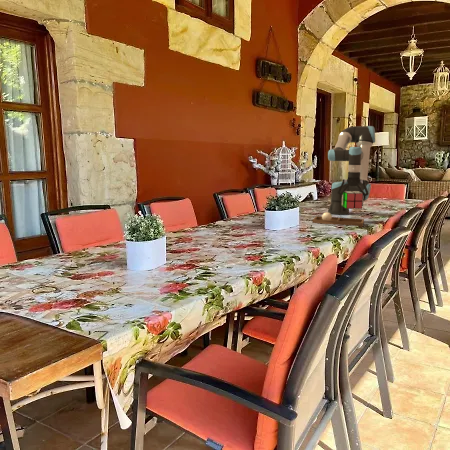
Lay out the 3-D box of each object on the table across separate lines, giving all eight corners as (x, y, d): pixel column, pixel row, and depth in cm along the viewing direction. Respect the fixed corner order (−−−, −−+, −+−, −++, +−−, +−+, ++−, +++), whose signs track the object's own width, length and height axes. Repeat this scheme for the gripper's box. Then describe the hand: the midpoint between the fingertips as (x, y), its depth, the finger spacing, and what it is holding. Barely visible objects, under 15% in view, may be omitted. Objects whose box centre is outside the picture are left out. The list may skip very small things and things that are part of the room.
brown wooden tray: (316, 220, 277) (316, 216, 276) (363, 223, 266) (364, 219, 266) (312, 224, 263) (312, 219, 262) (362, 227, 252) (362, 222, 252)
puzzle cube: (362, 208, 269) (363, 193, 267) (346, 208, 270) (347, 193, 268) (357, 206, 279) (358, 191, 277) (342, 206, 279) (343, 191, 277)
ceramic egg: (322, 220, 271) (322, 211, 270) (332, 221, 268) (332, 211, 267) (320, 222, 265) (321, 212, 264) (330, 222, 263) (331, 213, 262)
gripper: (334, 171, 271) (332, 205, 275) (373, 172, 262) (371, 207, 266) (335, 170, 278) (334, 203, 282) (374, 171, 269) (372, 205, 273)
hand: (352, 205), depth 274 cm, fingers closed on puzzle cube, 12 cm apart
